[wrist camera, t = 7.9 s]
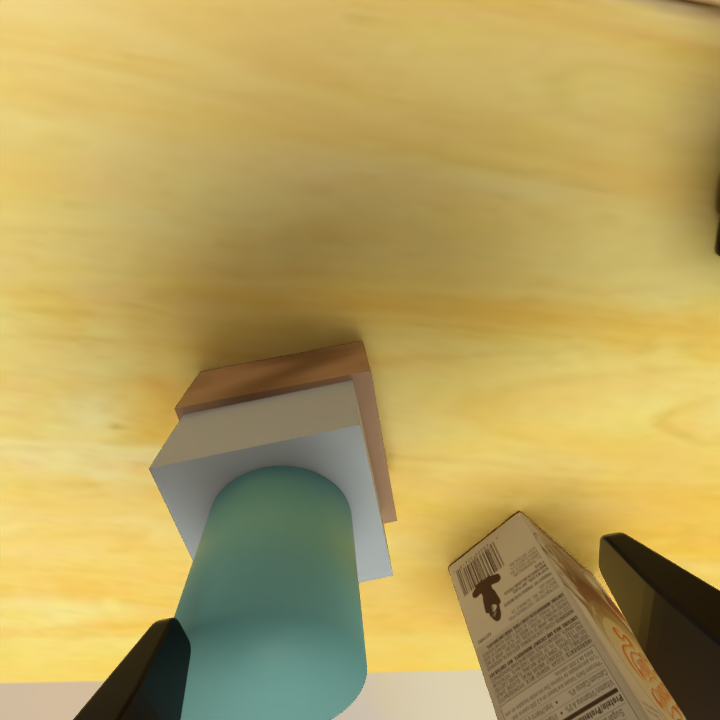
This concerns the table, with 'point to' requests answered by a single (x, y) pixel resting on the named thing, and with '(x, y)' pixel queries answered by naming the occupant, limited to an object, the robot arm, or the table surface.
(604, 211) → the table surface
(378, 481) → the tower base
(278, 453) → the tower top
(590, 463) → the table surface
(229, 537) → the teal cylinder
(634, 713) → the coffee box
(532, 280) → the table surface
